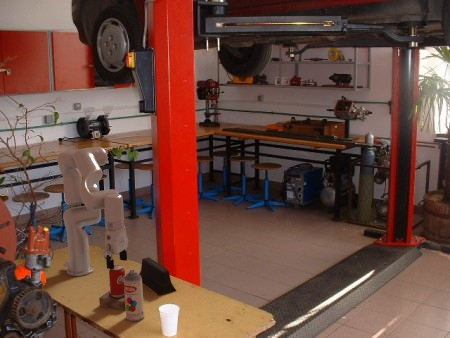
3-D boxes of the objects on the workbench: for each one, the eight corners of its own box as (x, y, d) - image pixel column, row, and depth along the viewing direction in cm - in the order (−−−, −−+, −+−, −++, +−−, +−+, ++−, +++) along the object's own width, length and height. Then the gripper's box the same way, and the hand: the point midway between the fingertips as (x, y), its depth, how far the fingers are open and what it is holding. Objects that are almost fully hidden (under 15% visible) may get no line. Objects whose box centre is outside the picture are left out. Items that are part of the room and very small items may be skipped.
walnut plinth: (99, 307, 226) (99, 297, 226) (115, 295, 237) (115, 285, 237) (125, 311, 222) (124, 300, 221) (140, 299, 233) (139, 289, 232)
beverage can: (123, 298, 224) (121, 270, 221) (108, 297, 224) (106, 269, 222) (128, 292, 230) (126, 264, 227) (113, 291, 231) (111, 264, 228)
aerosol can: (123, 320, 214) (119, 271, 210) (132, 313, 220) (129, 265, 216) (138, 323, 212) (135, 273, 208) (147, 315, 218) (144, 267, 214)
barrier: (136, 279, 255) (134, 258, 253) (153, 275, 260) (152, 254, 258) (159, 296, 236) (157, 274, 234) (177, 291, 240) (176, 269, 238)
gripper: (110, 231, 214) (113, 273, 218) (133, 219, 230) (136, 258, 234) (94, 229, 217) (97, 271, 221) (118, 217, 233) (120, 256, 236)
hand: (117, 264), depth 227 cm, fingers open, 9 cm apart
